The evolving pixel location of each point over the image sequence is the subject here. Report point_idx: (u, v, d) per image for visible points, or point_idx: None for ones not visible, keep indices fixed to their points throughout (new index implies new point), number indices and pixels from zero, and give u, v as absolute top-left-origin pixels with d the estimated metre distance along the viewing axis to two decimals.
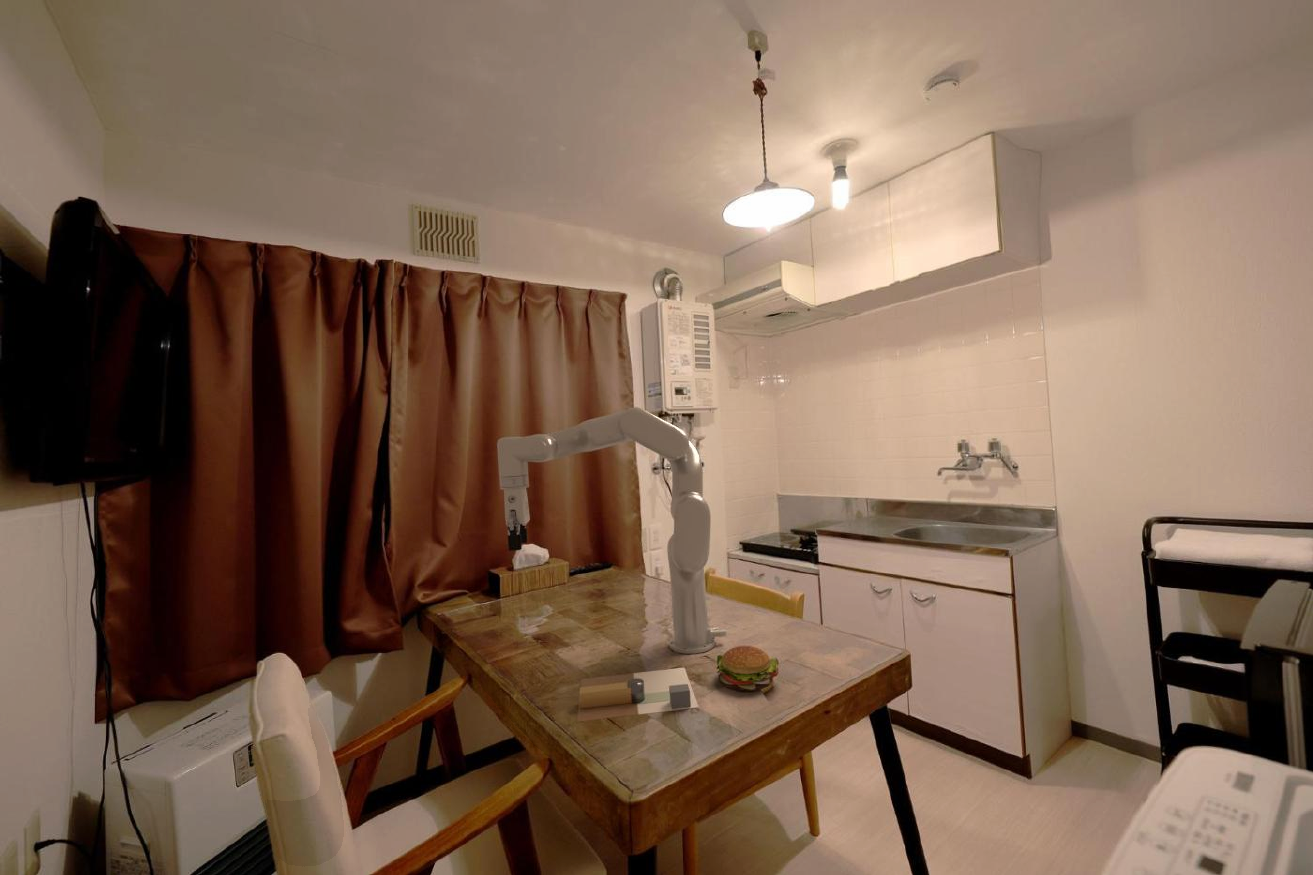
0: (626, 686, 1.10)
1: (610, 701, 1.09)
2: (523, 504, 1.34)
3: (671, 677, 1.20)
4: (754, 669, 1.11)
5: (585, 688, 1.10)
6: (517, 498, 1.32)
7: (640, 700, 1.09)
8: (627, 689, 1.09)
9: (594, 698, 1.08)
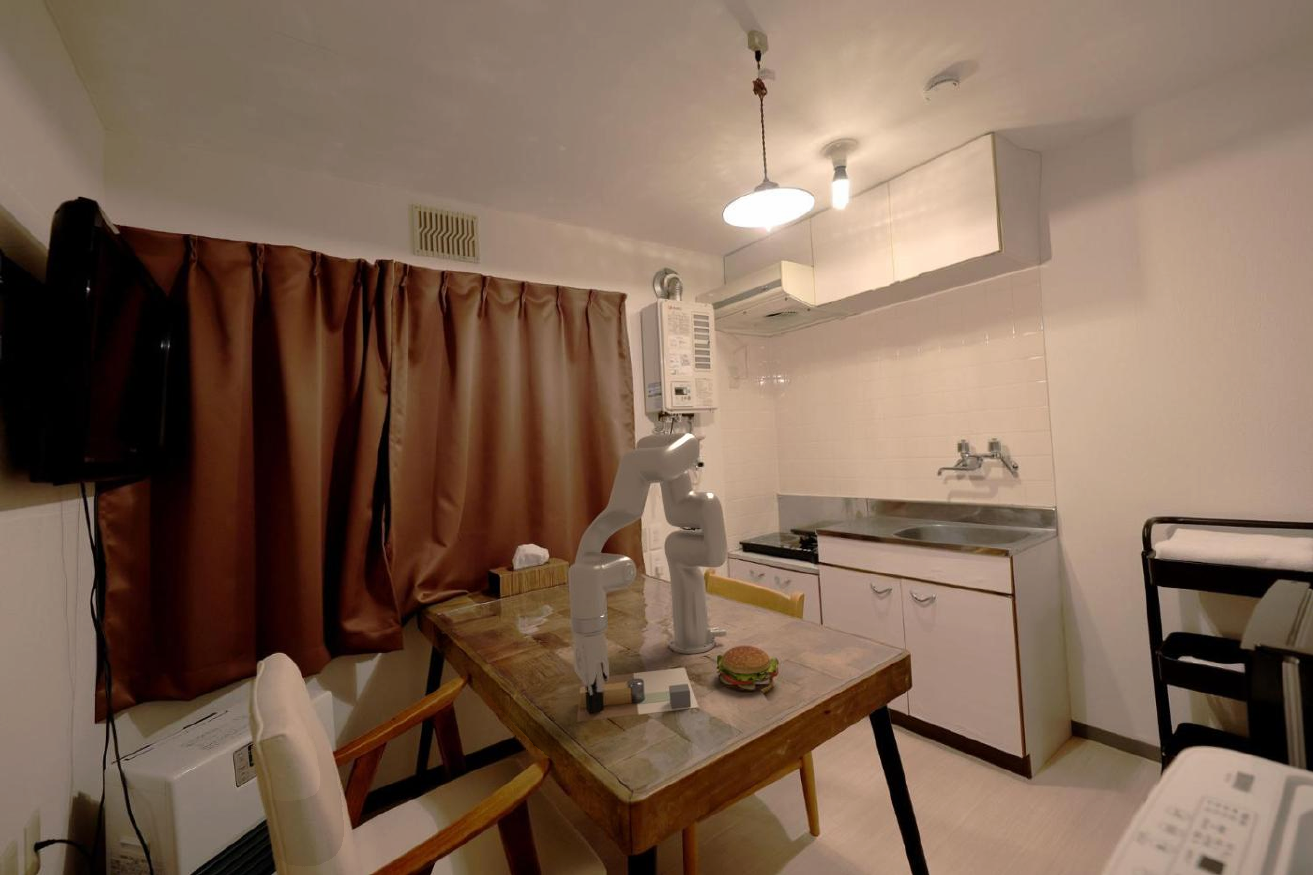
0: (626, 686, 1.10)
1: (610, 701, 1.09)
2: (574, 646, 1.08)
3: (671, 677, 1.20)
4: (754, 669, 1.11)
5: None
6: None
7: (640, 700, 1.09)
8: (627, 689, 1.09)
9: None
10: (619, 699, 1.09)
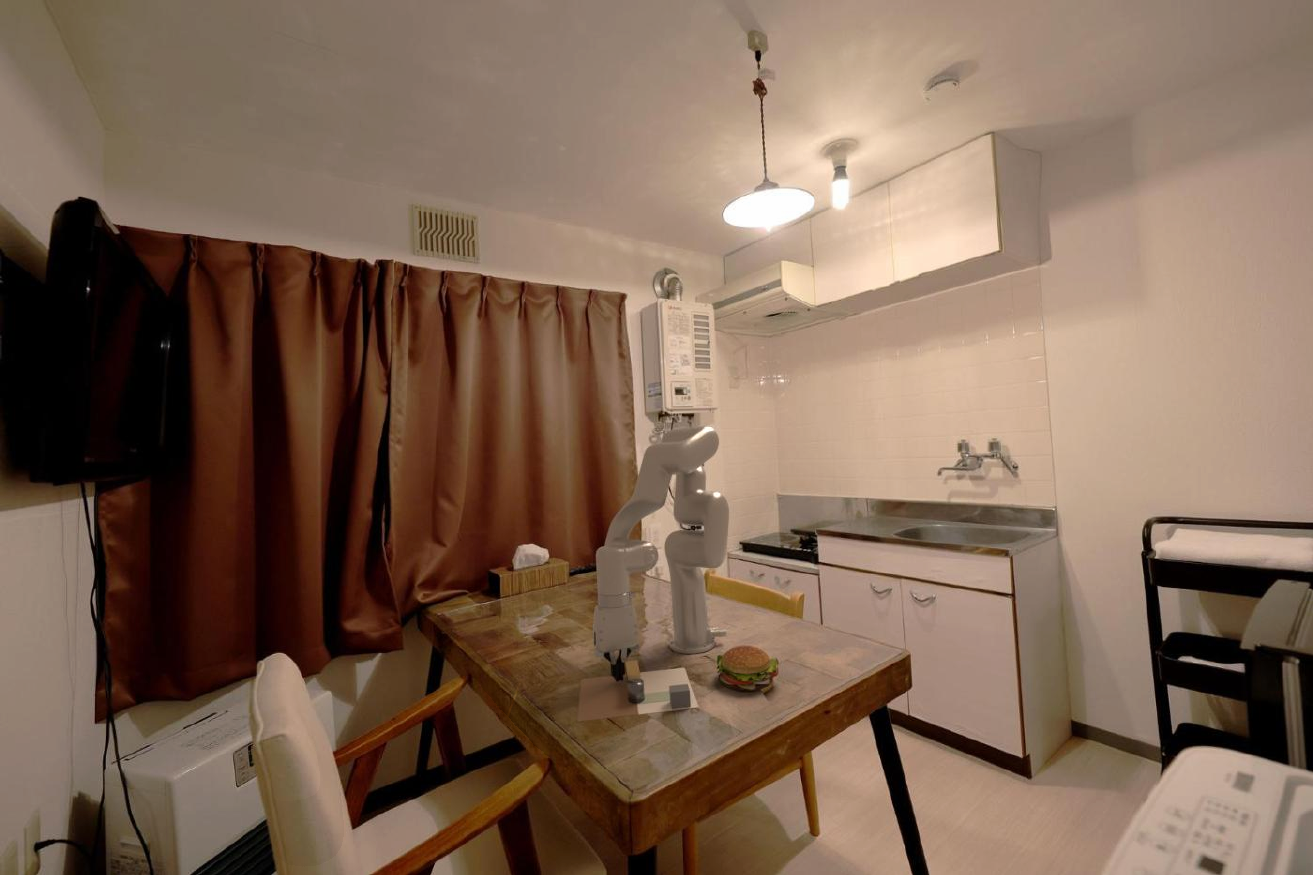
0: None
1: None
2: None
3: (671, 677, 1.20)
4: (754, 669, 1.11)
5: (634, 662, 1.21)
6: None
7: (629, 699, 1.09)
8: None
9: None
10: None
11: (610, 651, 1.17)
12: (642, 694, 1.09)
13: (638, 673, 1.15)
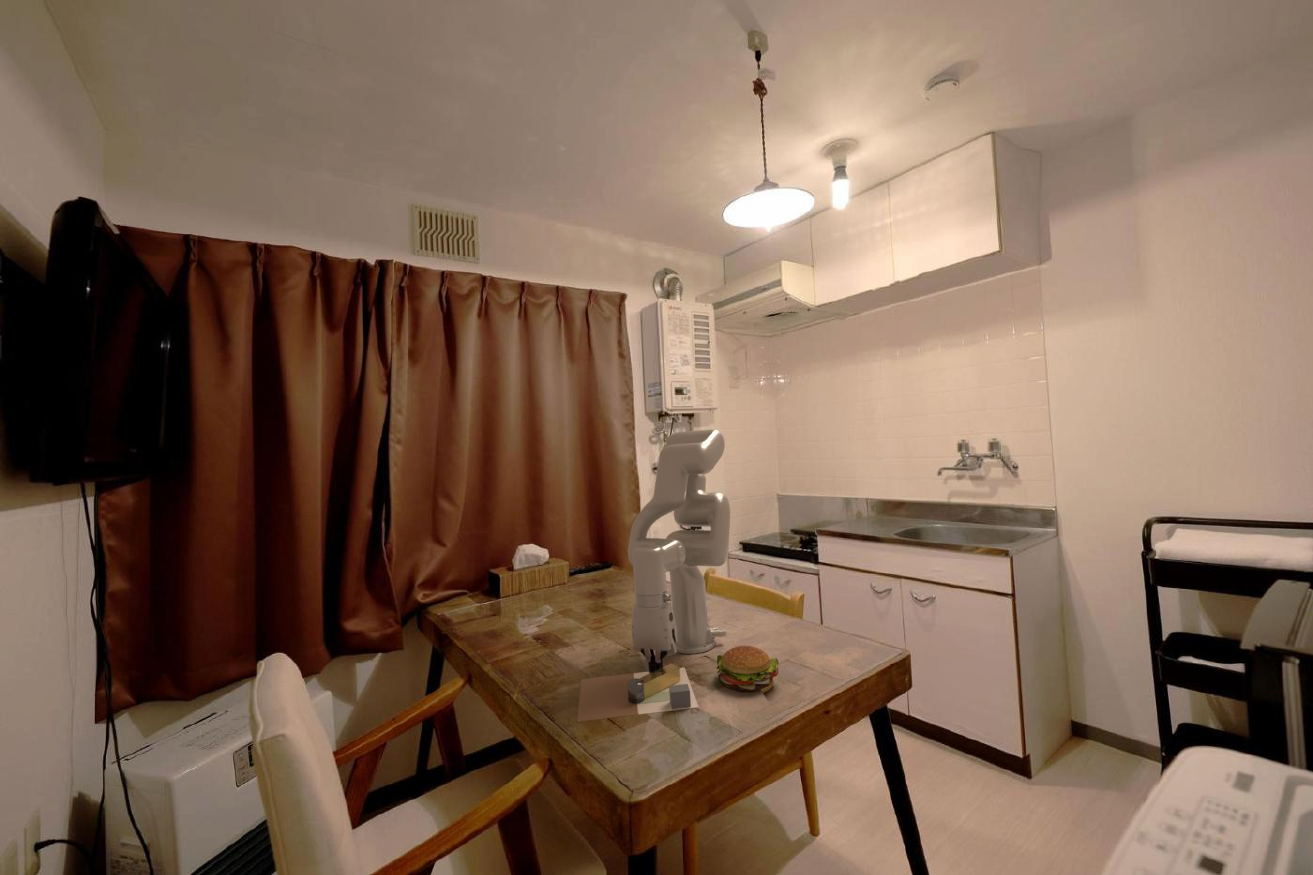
0: None
1: None
2: None
3: None
4: (754, 669, 1.11)
5: (673, 667, 1.17)
6: (673, 614, 1.19)
7: None
8: None
9: None
10: None
11: (643, 648, 1.19)
12: (635, 696, 1.09)
13: (655, 677, 1.13)
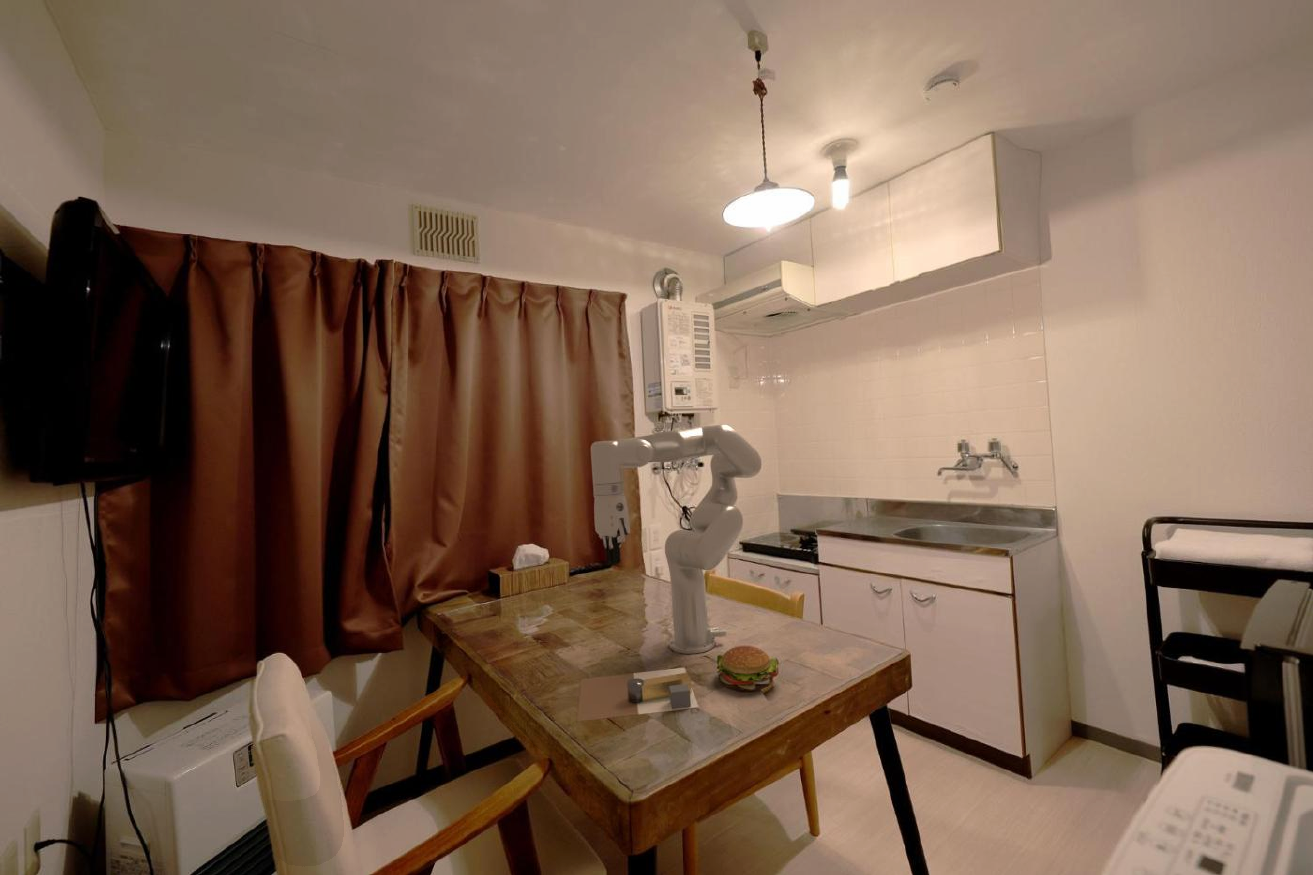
0: (644, 681, 1.11)
1: None
2: None
3: None
4: (754, 669, 1.11)
5: (684, 677, 1.12)
6: (624, 505, 1.24)
7: None
8: None
9: None
10: None
11: (601, 534, 1.28)
12: (631, 696, 1.09)
13: (658, 682, 1.10)
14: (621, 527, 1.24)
